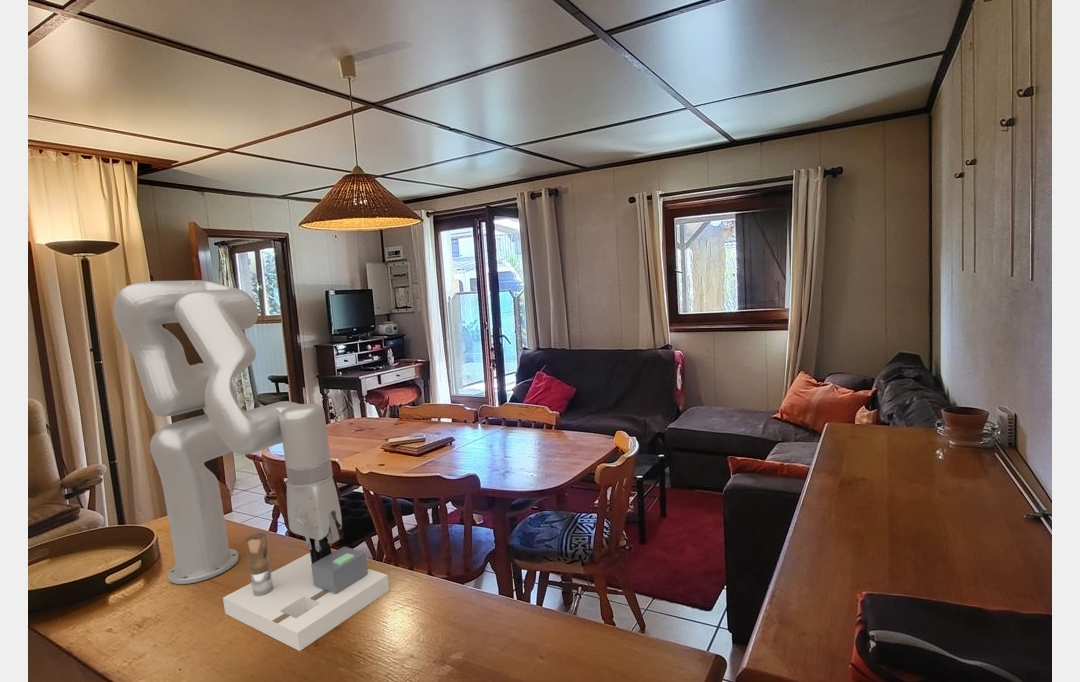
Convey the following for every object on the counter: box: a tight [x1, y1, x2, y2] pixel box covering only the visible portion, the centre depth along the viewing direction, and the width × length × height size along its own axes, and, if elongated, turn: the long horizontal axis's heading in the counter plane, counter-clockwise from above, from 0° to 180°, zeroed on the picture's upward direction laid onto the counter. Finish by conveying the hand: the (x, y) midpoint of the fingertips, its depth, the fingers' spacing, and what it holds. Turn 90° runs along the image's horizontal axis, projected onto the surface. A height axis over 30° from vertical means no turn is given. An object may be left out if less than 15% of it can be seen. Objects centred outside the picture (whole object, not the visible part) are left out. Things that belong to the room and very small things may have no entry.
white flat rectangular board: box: [222, 552, 390, 652], centre depth 96 cm, size 22×18×3 cm
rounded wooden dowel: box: [245, 533, 273, 596], centre depth 95 cm, size 3×3×10 cm
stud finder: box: [311, 546, 368, 594], centre depth 97 cm, size 6×7×4 cm
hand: (322, 567), depth 100 cm, fingers closed
